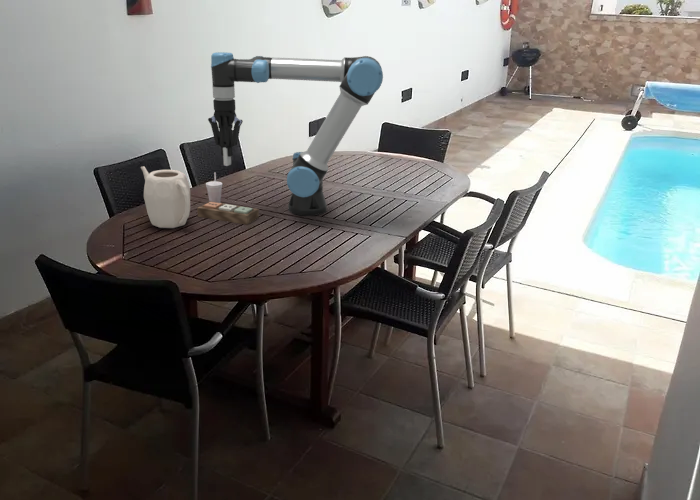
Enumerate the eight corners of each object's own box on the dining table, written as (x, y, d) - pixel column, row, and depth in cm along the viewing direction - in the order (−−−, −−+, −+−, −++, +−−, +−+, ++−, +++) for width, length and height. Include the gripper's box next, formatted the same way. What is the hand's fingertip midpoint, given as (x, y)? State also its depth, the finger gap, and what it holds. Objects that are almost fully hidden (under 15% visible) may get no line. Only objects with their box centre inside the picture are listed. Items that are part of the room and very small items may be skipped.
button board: (258, 217, 229) (258, 208, 228) (247, 224, 221) (246, 215, 220) (210, 210, 236) (210, 201, 234) (197, 216, 228) (197, 207, 227)
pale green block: (252, 217, 228) (252, 208, 226) (246, 221, 223) (245, 211, 222) (241, 215, 229) (240, 206, 228) (234, 219, 225) (233, 209, 224)
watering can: (163, 210, 233) (159, 162, 226) (208, 226, 218) (205, 175, 211) (127, 219, 222) (122, 169, 215) (172, 237, 207) (168, 183, 200)
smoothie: (219, 210, 236) (218, 175, 231) (204, 208, 237) (202, 173, 232) (226, 205, 242) (224, 171, 237) (210, 204, 243) (209, 169, 238)
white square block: (237, 214, 230) (237, 205, 228) (230, 218, 225) (230, 209, 224) (226, 212, 231) (225, 203, 230) (219, 216, 227) (218, 207, 226)
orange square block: (222, 212, 232) (222, 203, 230) (215, 216, 227) (215, 206, 226) (211, 210, 233) (210, 201, 232) (204, 214, 229) (203, 205, 228)
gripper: (245, 98, 214) (248, 164, 222) (213, 96, 218) (217, 160, 227) (235, 101, 207) (238, 169, 216) (202, 98, 211) (206, 165, 220)
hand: (227, 164), depth 221 cm, fingers closed
